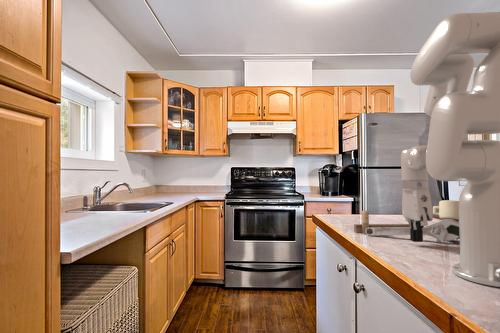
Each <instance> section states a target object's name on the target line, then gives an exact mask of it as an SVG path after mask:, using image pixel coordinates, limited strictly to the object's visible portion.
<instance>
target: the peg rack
mask: <svg viewBox="0 0 500 333" xmlns="http://www.w3.org/2000/svg"><path fill="white" fill-rule="evenodd" d="M369 213H370V212H369V210H361V223H354V225H353V231H354V232H355V233H356V234H363V235H367V234H369V235H370V234H372V233H373V230H372V229H368V230H367V234H366V232H365V230H366V229H367V228H377V227H409V223H388V224H387V223H378V224H377V223H370V221H369V220H370V217H369V216H370V215H369ZM367 236H368V235H367Z"/></svg>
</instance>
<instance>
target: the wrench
mask: <svg viewBox="0 0 500 333" xmlns="http://www.w3.org/2000/svg"><path fill="white" fill-rule="evenodd" d="M450 225H453V226H457V227H459V222H457V221H456V220H453V219H444V220H442V219H441V220H440V221H437V222H435V223H431V224H428V225H427V226H424V229H423V236H429V237H432V238H434V239H436V242H437V243H442V244H443V243H444V242H451V241H455V240H456V239H458V238H459V236H457V235H454V234H449V233H448V231H447V229H446V228H447V227H448V226H450ZM368 229H372V230H373V233H369V234H367V230H368ZM365 232H366V234H367V236H370V237H371V236H372V237H373V236H375V237H376V236H381V237H382V236H410V228H409V227H377V228H367V229H366V230H365ZM458 240H459V239H458Z"/></svg>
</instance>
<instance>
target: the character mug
mask: <svg viewBox="0 0 500 333" xmlns="http://www.w3.org/2000/svg"><path fill="white" fill-rule="evenodd" d="M437 210H438V212H437ZM432 213H433V216H438V217H439V219H441V221H442V220H444V219H453V220H456V221H457V222H459V200H453V199H451V200H450V199H449V200H448V199H446V200H445V199H444V200H440V201H439V202H438V205H437V206H436V205H432ZM446 229H447V231H448V233H449V234H454V235H457V236H459V238H458V239H455V240H456V241H457V240H460V234H459V227H457V226H453V225H450V226H448V227H447V228H446Z"/></svg>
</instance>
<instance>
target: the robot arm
mask: <svg viewBox="0 0 500 333" xmlns="http://www.w3.org/2000/svg"><path fill="white" fill-rule="evenodd" d="M471 54H472V56H471ZM473 54H487V55H486V56H485V57H484V58H483V59H482V61H481V62H480V63H479V64H478V66H477V67H476V69H475V70H474V67H475V59H474V58H473ZM410 69H411V70H410V75H409V76H410V80H411V82H412V84H414V85H416V86H429V88H428V93H427V97H426V101H425V104H424V108H423V112H424V113H425V114H426V116H429V117H430V121H429V122H430V123H429V128H428V129H429V130H428V138H427V145H415V146H413V147H410V148H407V149H403V150H402V151H401V152H400V165H401V166H400V167H401V168H400V169H401V190H402V195H401V196H402V197H401V198H402V199H401V211H402V213H401V214H402V217H404V218H405V222H407V224H409V228H410V235H409V236H410V242H414V243H422V242H424V235H423V229H424V227H425V226H429V222H431V221H433V219H434V215H433V204H432V198H431V194H430V190H429V177H428V175H429V176H430V177H431V178H432V179H435V180H436V181H440V182H466V184H465V185H464V187H463V189H462V190H461V192H460V194H459V197H458V198H459V199H458V201H459V234H460V239H459V263H456V264H453V265H452V273H454V275H456V276H458V277H460V278H461V279H465V280H466V281H469V282H473V283H476V284H480V285H483V286H484V285H485V286H490V287H498V288H500V141H499V140H495V139H469V137H468V136H469V135H496V134H500V11H487V12H486V11H485V12H460V13H454V14H450V15H448V16H446V17H445V18H443V19H442V20H441V21H440V22H439V23H438V24H437V25H436V26H435V28H434V29H433V31H432V32H431V34H430V35H429V37H428V38H427V40H426V41H425V42H424V44H423V45H422V47H421V48H420V50H419V51H418V54H416V57H415V59H414V60H413V63H412V65H411V68H410ZM473 71H474V74H473ZM472 76H473V79H472V85H471V90H469V91H467V89H468V87H469V83H470V81H471V77H472Z"/></svg>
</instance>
